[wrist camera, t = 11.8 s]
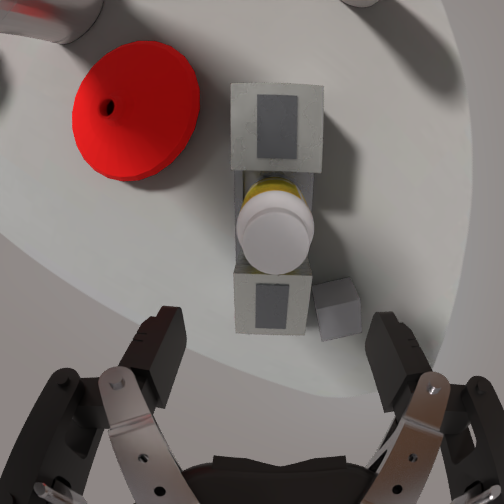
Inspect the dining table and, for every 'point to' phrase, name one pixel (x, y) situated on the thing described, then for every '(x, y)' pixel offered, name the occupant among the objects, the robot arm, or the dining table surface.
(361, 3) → the coffee cup
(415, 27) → the dining table surface
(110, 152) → the red disc with nozzle
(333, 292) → the gray block
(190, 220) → the dining table surface
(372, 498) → the robot arm
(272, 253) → the pill bottle
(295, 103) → the white twin-block stand
